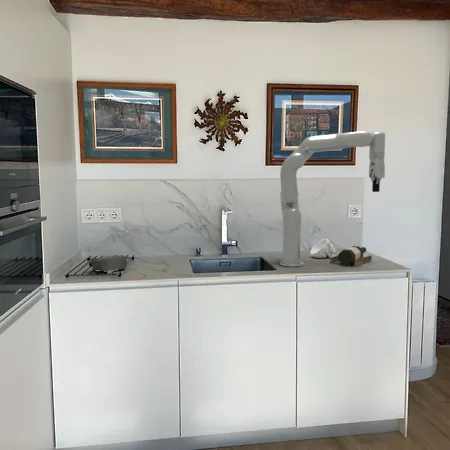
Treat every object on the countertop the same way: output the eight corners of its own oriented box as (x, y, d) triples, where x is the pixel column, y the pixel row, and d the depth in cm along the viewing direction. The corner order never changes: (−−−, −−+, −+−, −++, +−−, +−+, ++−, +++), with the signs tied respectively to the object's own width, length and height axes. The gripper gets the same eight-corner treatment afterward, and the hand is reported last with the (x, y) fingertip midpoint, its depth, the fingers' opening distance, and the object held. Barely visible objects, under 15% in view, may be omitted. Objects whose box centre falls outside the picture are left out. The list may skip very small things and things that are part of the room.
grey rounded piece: (119, 266, 241) (119, 252, 240) (130, 269, 233) (130, 254, 232) (88, 272, 228) (87, 257, 227) (99, 275, 220) (98, 260, 220)
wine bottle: (355, 263, 231) (373, 254, 256) (349, 248, 232) (368, 240, 257) (341, 267, 236) (360, 258, 260) (335, 252, 237) (355, 244, 261)
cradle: (329, 263, 243) (330, 257, 242) (346, 257, 258) (346, 252, 257) (355, 266, 233) (355, 261, 233) (371, 260, 248) (371, 255, 247)
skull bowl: (342, 255, 256) (332, 238, 253) (323, 269, 255) (312, 252, 252) (334, 252, 266) (324, 236, 264) (316, 265, 265) (305, 249, 262)
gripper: (378, 155, 222) (377, 192, 224) (389, 156, 233) (388, 191, 235) (363, 156, 227) (362, 192, 229) (375, 156, 238) (374, 191, 240)
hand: (375, 191), depth 232 cm, fingers closed
